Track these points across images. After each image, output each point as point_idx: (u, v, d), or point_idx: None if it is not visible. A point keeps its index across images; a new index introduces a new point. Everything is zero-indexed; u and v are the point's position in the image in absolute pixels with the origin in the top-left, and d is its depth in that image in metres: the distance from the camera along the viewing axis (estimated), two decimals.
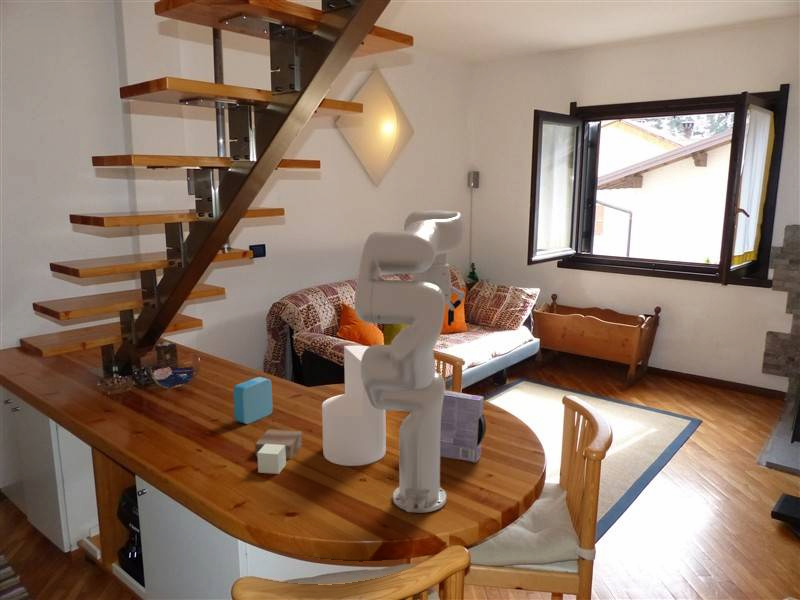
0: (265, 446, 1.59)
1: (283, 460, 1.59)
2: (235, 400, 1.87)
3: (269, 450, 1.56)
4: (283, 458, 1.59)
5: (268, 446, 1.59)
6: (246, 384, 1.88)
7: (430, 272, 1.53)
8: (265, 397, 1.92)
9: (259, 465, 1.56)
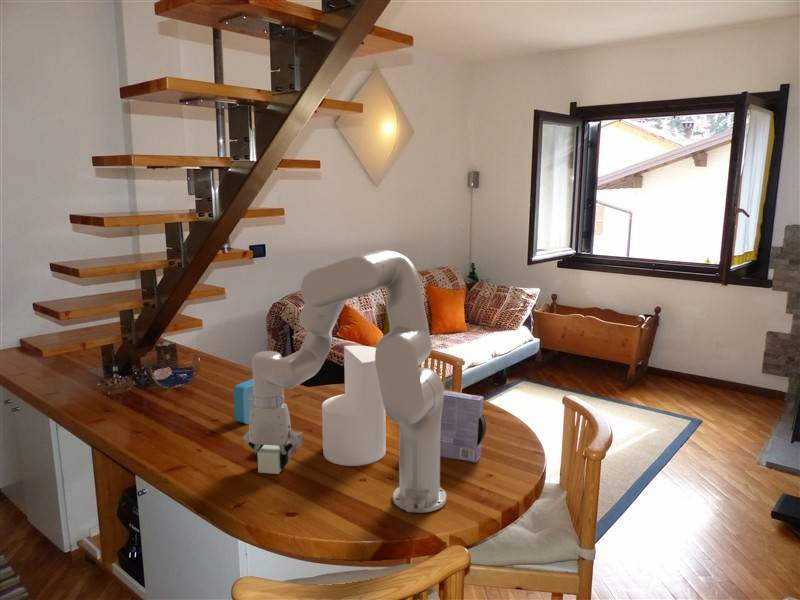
0: (265, 446, 1.59)
1: None
2: (235, 400, 1.87)
3: (269, 450, 1.56)
4: None
5: (268, 446, 1.59)
6: (246, 384, 1.88)
7: (265, 415, 1.53)
8: None
9: (259, 465, 1.56)
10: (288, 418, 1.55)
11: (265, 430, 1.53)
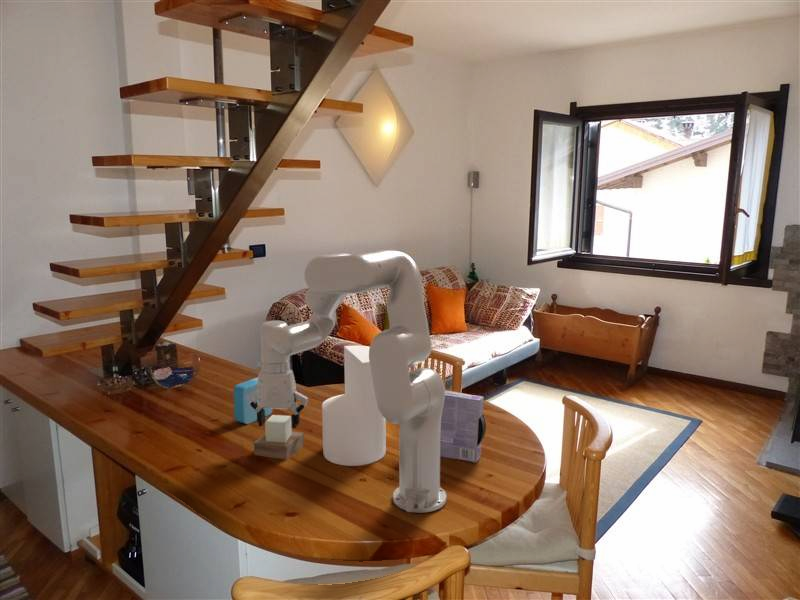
0: (272, 417, 1.69)
1: (289, 430, 1.69)
2: (235, 400, 1.87)
3: (276, 420, 1.67)
4: (289, 427, 1.69)
5: (275, 417, 1.69)
6: (246, 384, 1.88)
7: (272, 380, 1.63)
8: None
9: (266, 434, 1.66)
10: (294, 383, 1.65)
11: (272, 394, 1.63)
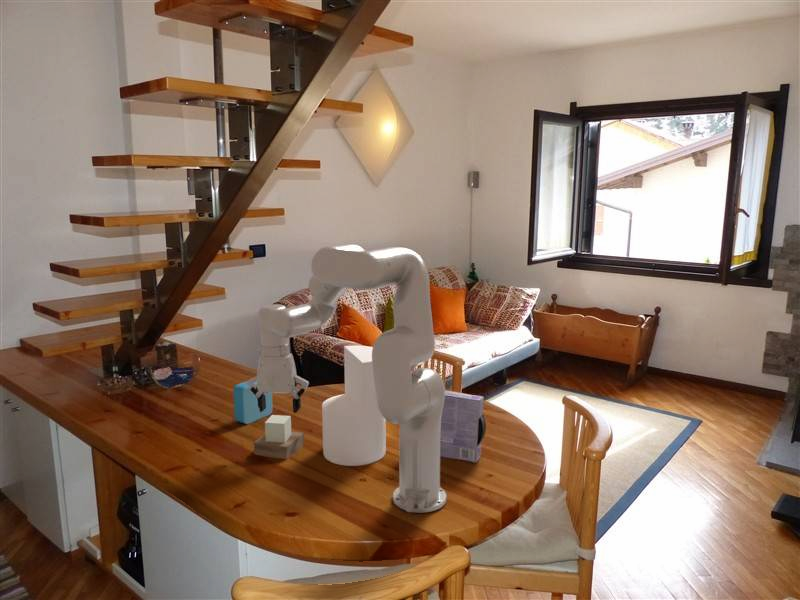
0: (272, 417, 1.69)
1: (289, 430, 1.69)
2: (235, 400, 1.87)
3: (276, 420, 1.67)
4: (289, 428, 1.69)
5: (275, 417, 1.69)
6: (246, 384, 1.88)
7: (272, 364, 1.62)
8: (265, 397, 1.92)
9: (266, 434, 1.66)
10: (294, 367, 1.64)
11: (272, 378, 1.62)
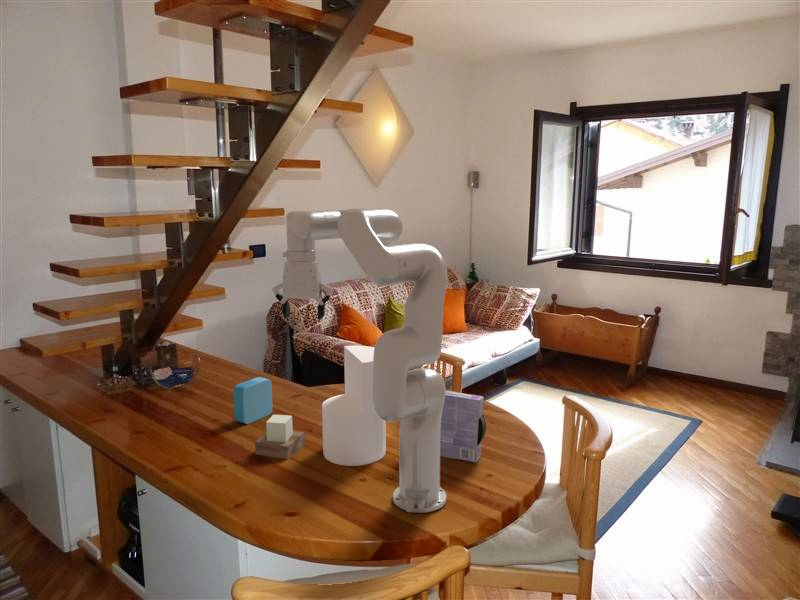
0: (273, 416, 1.69)
1: (290, 429, 1.69)
2: (235, 400, 1.87)
3: (277, 420, 1.67)
4: (290, 427, 1.69)
5: (276, 416, 1.69)
6: (246, 384, 1.88)
7: (298, 269, 1.63)
8: (265, 397, 1.92)
9: (268, 434, 1.66)
10: (319, 274, 1.65)
11: (298, 283, 1.64)
